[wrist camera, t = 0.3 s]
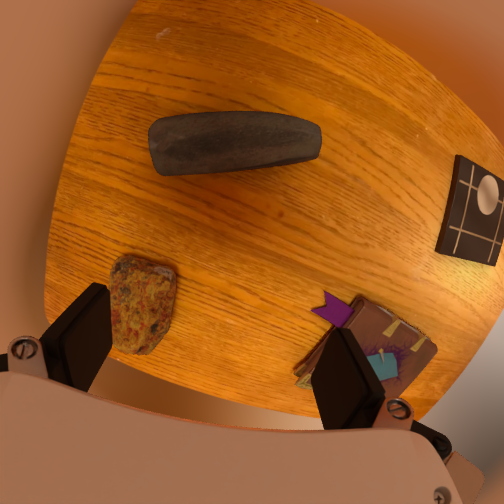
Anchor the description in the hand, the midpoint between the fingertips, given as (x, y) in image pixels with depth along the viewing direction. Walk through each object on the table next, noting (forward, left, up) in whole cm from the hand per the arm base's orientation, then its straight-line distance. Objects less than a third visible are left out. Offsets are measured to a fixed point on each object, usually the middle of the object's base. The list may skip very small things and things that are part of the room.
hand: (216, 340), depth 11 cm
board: (-8, +36, -21) cm, 42 cm away
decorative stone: (-9, -1, -21) cm, 23 cm away
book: (+17, +21, -21) cm, 34 cm away
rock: (+11, -9, -21) cm, 25 cm away
